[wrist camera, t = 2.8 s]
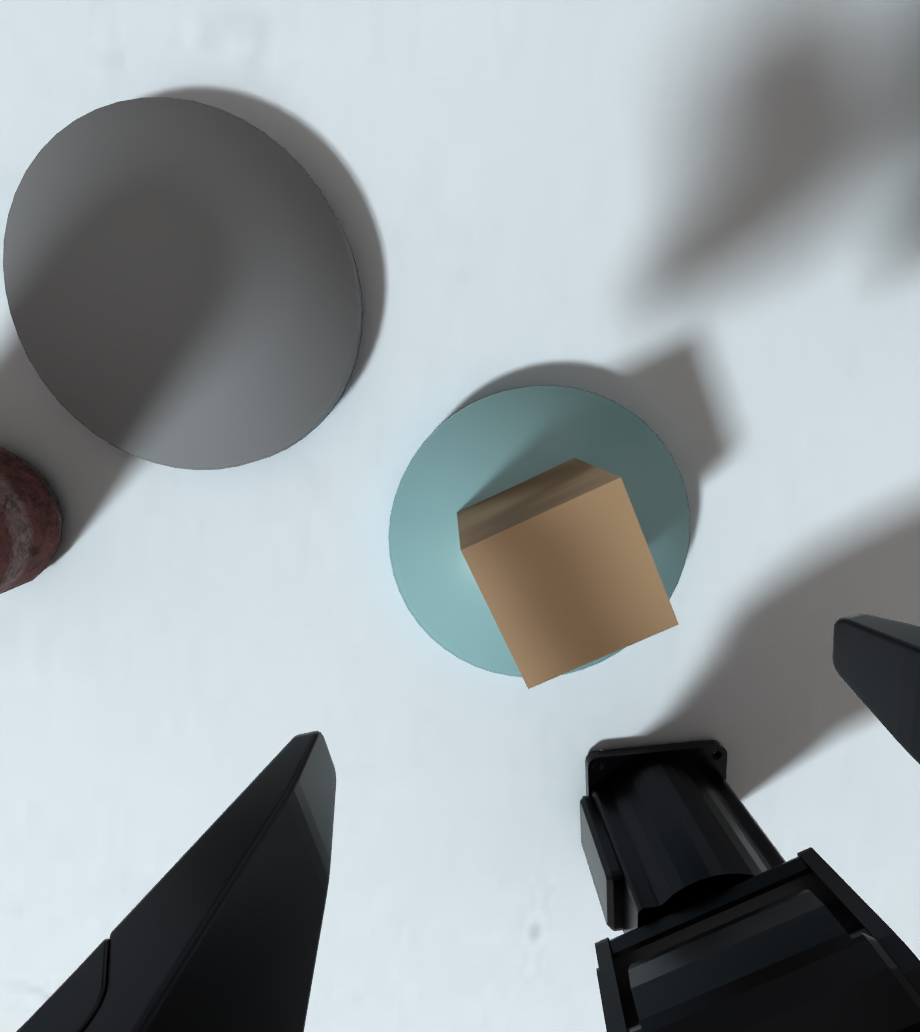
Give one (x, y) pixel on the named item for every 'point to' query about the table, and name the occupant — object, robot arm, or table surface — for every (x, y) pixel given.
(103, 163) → the charcoal mat
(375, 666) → the table surface
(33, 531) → the can
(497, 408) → the teal mat
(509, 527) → the walnut block
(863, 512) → the table surface
